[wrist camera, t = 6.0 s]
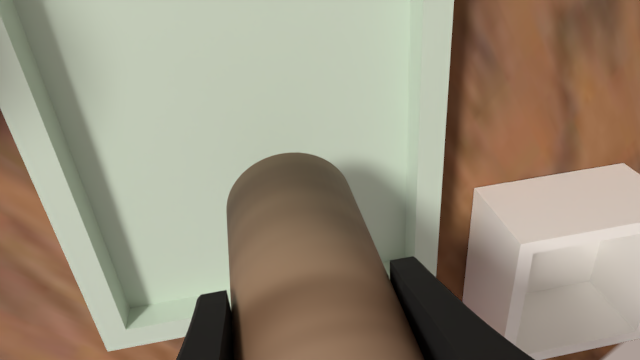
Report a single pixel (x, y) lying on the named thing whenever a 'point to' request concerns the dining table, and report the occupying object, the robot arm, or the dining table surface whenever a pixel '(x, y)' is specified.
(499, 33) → the dining table surface
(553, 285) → the square cup
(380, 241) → the tray
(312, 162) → the walnut dowel
